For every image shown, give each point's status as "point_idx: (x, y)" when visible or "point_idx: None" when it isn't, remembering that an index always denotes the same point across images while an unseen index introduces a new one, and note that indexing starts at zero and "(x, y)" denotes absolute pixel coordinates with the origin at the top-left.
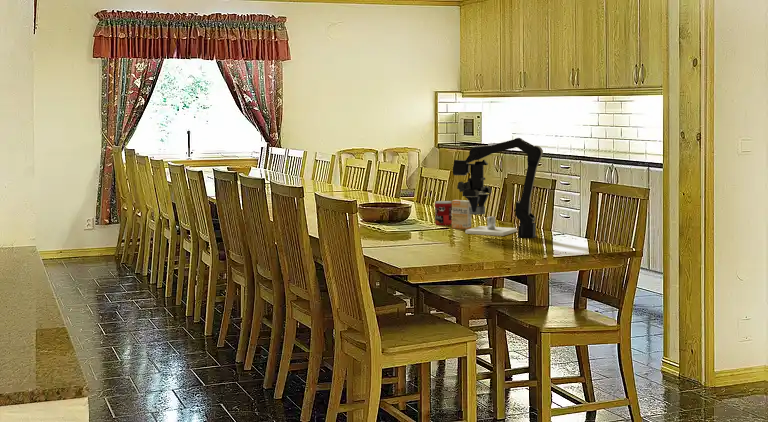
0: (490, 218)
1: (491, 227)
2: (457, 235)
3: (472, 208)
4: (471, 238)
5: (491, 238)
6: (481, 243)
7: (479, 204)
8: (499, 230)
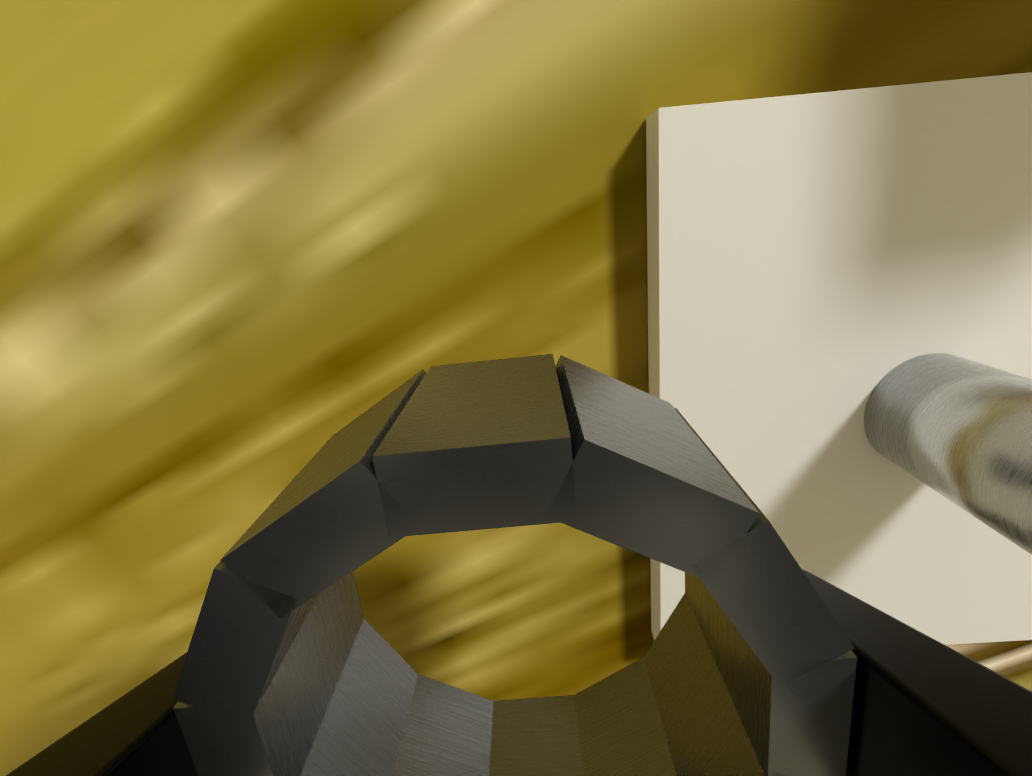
0: (1004, 511)
1: (888, 451)
2: (403, 119)
3: (137, 718)
4: (281, 434)
5: (419, 611)
6: (61, 676)
7: (914, 754)
8: (827, 556)
